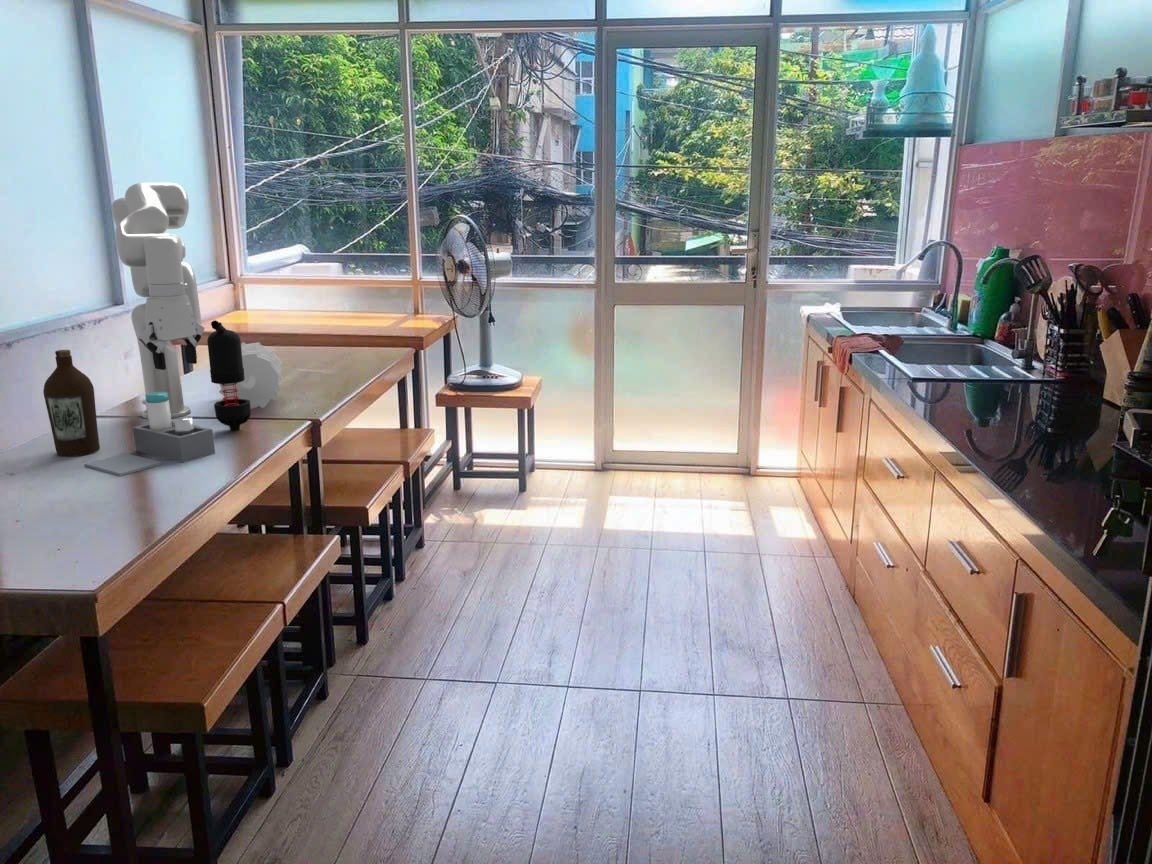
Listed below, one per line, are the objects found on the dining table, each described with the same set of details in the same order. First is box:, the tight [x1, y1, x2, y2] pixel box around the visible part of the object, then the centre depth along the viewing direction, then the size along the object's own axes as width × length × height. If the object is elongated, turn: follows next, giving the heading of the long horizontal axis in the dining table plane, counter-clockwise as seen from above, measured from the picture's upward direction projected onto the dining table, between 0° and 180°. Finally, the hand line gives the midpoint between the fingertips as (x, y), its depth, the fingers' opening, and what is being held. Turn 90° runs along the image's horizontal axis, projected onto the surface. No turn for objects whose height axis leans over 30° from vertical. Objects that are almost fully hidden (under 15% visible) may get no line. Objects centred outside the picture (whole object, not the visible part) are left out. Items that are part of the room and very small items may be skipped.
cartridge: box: [145, 392, 173, 431], centre depth 219 cm, size 5×5×14 cm
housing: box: [132, 420, 216, 463], centre depth 218 cm, size 18×9×6 cm, turn 59°
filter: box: [206, 320, 252, 432], centre depth 236 cm, size 14×9×30 cm
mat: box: [84, 452, 162, 477], centre depth 209 cm, size 14×10×1 cm
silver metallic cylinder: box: [172, 416, 195, 436], centre depth 215 cm, size 4×4×5 cm
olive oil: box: [43, 349, 101, 458], centre depth 216 cm, size 11×11×25 cm
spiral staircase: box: [218, 341, 283, 410], centre depth 265 cm, size 18×18×25 cm
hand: (176, 365), depth 211 cm, fingers open, 7 cm apart
